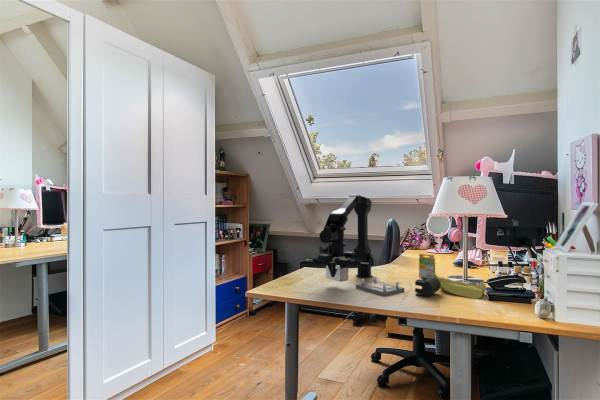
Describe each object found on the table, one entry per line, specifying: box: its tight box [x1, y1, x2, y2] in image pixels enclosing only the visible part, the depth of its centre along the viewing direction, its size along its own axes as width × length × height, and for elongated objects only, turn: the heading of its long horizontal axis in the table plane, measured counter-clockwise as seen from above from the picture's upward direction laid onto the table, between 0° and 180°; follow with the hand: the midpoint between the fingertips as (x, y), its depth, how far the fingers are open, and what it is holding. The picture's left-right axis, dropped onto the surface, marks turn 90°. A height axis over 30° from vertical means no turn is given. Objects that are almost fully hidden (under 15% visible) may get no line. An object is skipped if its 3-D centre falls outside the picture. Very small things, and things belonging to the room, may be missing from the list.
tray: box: [355, 276, 405, 297], centre depth 158 cm, size 13×16×4 cm
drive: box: [325, 264, 349, 283], centre depth 162 cm, size 5×9×6 cm, turn 37°
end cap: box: [414, 277, 441, 298], centre depth 150 cm, size 10×7×7 cm
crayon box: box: [418, 253, 436, 278], centre depth 184 cm, size 7×3×12 cm, turn 57°
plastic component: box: [434, 272, 486, 300], centre depth 154 cm, size 20×7×10 cm
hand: (337, 276), depth 162 cm, fingers closed on drive, 5 cm apart
